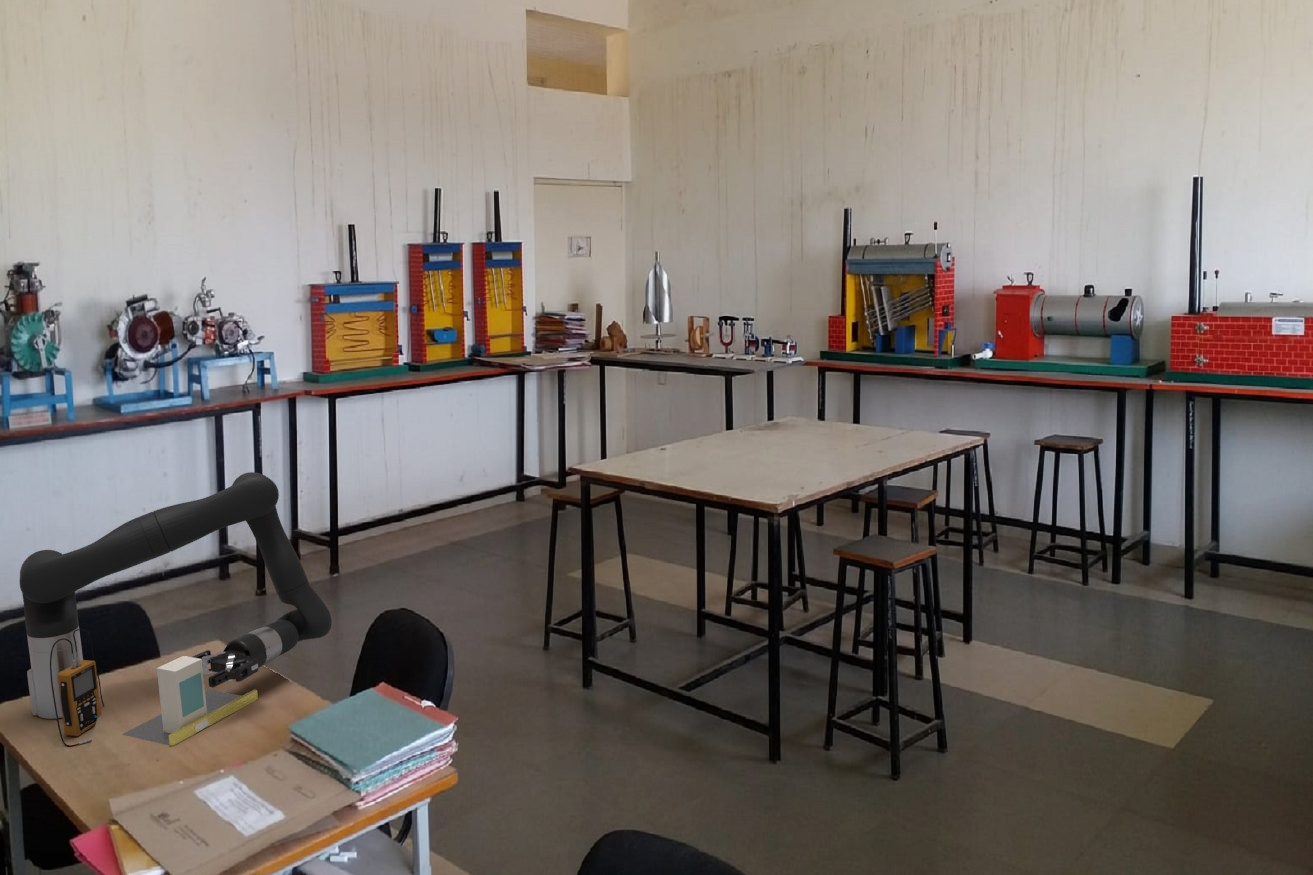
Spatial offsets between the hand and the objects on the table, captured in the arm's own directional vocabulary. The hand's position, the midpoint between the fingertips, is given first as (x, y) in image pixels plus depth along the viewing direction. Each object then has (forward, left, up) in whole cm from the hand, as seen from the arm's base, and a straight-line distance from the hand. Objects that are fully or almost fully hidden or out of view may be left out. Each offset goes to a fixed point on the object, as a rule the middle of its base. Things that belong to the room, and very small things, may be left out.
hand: (193, 679), depth 209 cm
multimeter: (-19, -2, -10) cm, 22 cm away
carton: (-1, -3, -8) cm, 9 cm away
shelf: (-2, +2, -10) cm, 10 cm away
